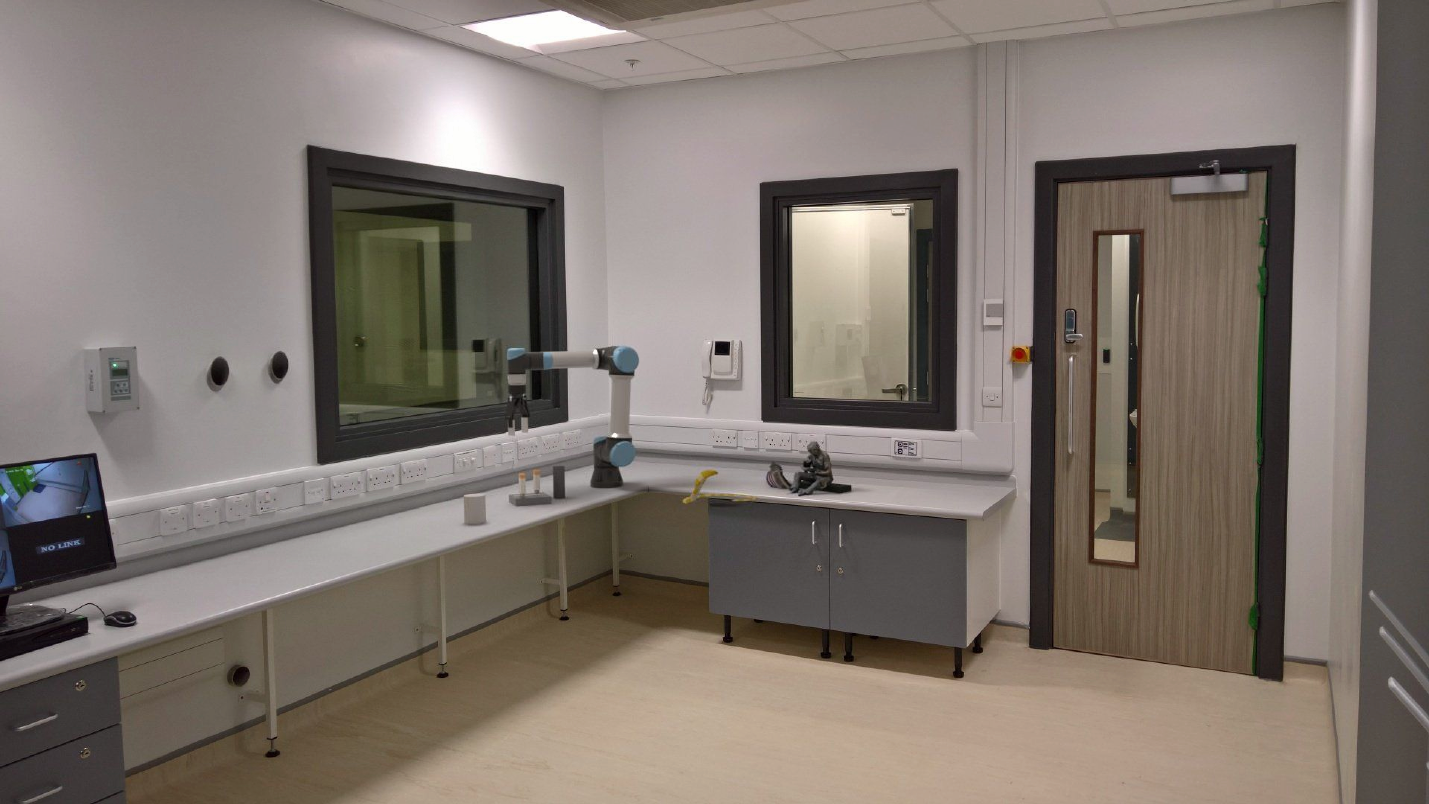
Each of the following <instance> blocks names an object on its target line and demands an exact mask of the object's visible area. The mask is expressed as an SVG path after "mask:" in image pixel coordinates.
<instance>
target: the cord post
mask: <svg viewBox="0 0 1429 804" xmlns="http://www.w3.org/2000/svg"><path fill="white" fill-rule="evenodd" d="M565 470H566V469H565V465H554V466H553V465H552V487H553V489H552V490H553V491H552V492H553V494H552V495H553V496H552V497H553V500H564V499H566V476H565V475H566V473H565ZM563 498H564V499H563Z"/></svg>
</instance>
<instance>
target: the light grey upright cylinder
mask: <svg viewBox="0 0 1429 804" xmlns="http://www.w3.org/2000/svg"><path fill="white" fill-rule="evenodd" d="M486 503H487V502H486V494H485V493H469V494H464V495H463V517H464V524H466V525H479V524H484V523H486V522H487V508H486V506H487V505H486Z"/></svg>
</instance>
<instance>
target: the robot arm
mask: <svg viewBox="0 0 1429 804" xmlns="http://www.w3.org/2000/svg"><path fill="white" fill-rule="evenodd" d="M506 362H507V363H506V364H507V377H506V378H507V384H509V385H507V390H508V391H507V393H508V394H509V395H511V396H507V405H506V411H505V421H507V433H508V434H507V435H508V436H510V437H511V436H512V437H513V436H516V426H515V425H516V422H515V415H516V412H517V408H518V410H519V412H520V414H521V418H520V419H521V420H520V421H521V423H520V424H521V428H520V429H521V433H524V434H525V433H527V434H528V433H529V418H530V417H531V411H530V407H529V403H528V399H527V385H526V383H527V373H526V371H546V370H551V369H582V368H585V369H586V368H591V369H593V370H602V371H608V376H609V378H610V379H611V388H610V389H611V391H610V393H611V395H610V418H609V419H610V422H609V423H610V424H609V425H610V426H609V433H608V434H607V435H605V436H596V437H593V438H594V439H593V443H592V446H593V447H592V450H593V470H592V474H591V478H590V481H589V483H590V485H589V486H590V487H592V488H598V489H599V488H601V489H602V488H603V489H605V488H606V489H608V488H619V487H623V486H624V480H623V477H622V473H621V471H620V468H623V467H627V466H629V465H631V464H632V463H633V461H635V458H636V454H637V453H636V452H637V451H636V448H635V446H634V445H633V436H632V435H631V434H630V419H631V418H630V417H631V416H630V415H631V414H630V413H631V412H630V411H631V392H632V391H631V390H632V389H631V386H632V380H633V378H634V377H635V373H636V372H635V370H636V369H637V368H638V366H639V363H640V356H639V354H638V352H637V351H636V350H635V349H634V348H632V347H631V346H627V345H612V346H607V347H600V348H599V347H598V348H592V349H590V350H576V351H574V350H571V351H569V350H568V351H530V352H529V351H526V348H523V347H519V348H518V347H515V348H513V347H512V348H511V347H510V348H508V349H507V357H506ZM622 485H623V486H622Z"/></svg>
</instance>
